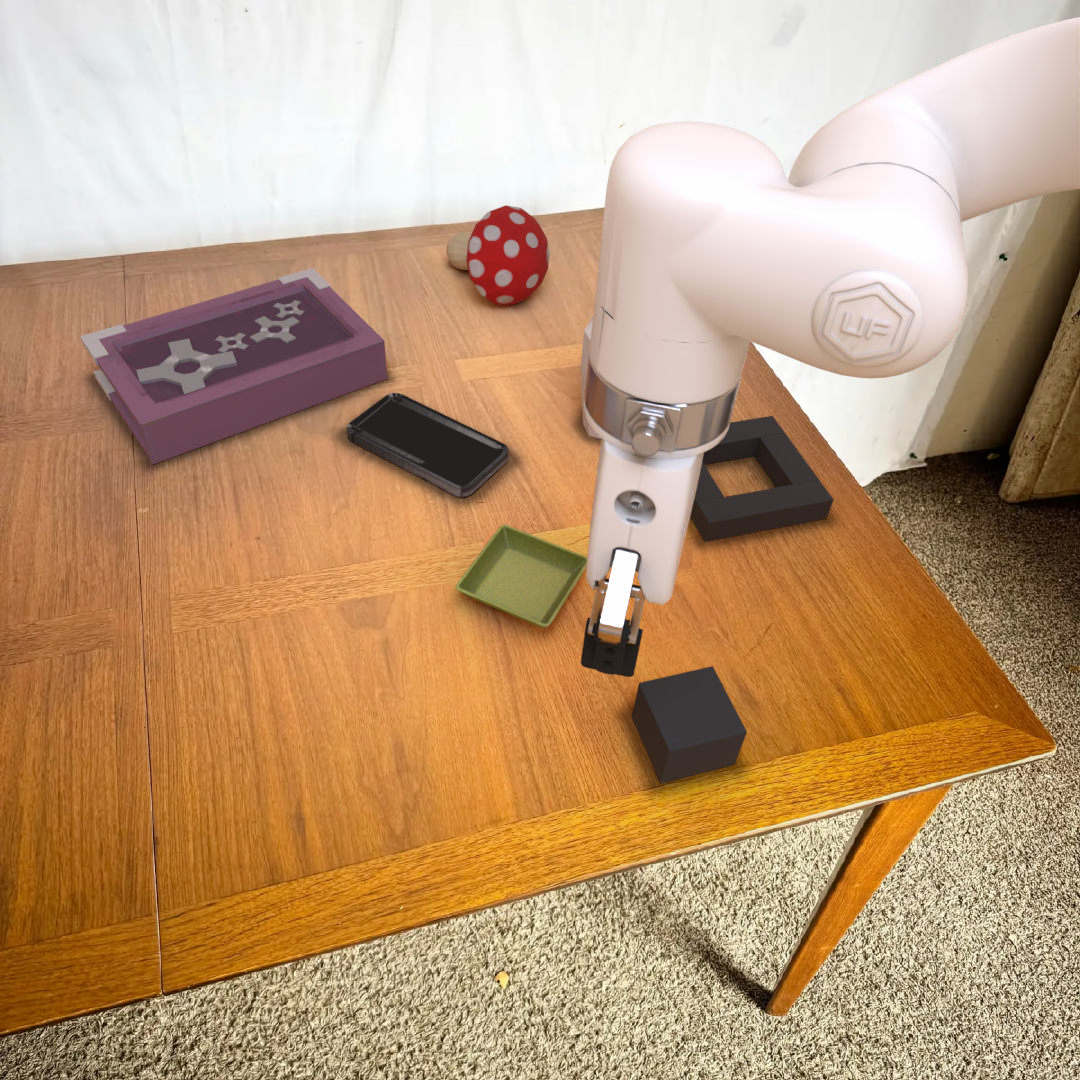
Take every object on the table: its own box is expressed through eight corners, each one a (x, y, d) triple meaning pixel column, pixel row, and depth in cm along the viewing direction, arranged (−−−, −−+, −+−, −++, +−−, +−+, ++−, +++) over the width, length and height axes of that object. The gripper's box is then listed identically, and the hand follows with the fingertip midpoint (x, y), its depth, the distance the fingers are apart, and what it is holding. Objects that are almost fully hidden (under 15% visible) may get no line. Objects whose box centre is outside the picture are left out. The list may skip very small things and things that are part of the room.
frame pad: (826, 518, 90) (834, 499, 88) (704, 542, 87) (709, 522, 85) (767, 434, 98) (772, 415, 97) (653, 453, 95) (656, 434, 94)
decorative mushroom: (429, 188, 113) (507, 192, 103) (499, 219, 121) (579, 225, 110) (406, 282, 115) (480, 295, 104) (477, 306, 122) (553, 321, 112)
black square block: (735, 765, 71) (747, 731, 68) (660, 784, 70) (669, 751, 67) (702, 699, 75) (713, 665, 72) (631, 716, 74) (638, 682, 71)
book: (317, 306, 110) (312, 267, 107) (388, 379, 102) (385, 339, 98) (94, 377, 99) (80, 336, 96) (152, 465, 90) (138, 423, 87)
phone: (393, 389, 98) (513, 447, 93) (393, 398, 99) (512, 456, 94) (340, 429, 94) (464, 492, 88) (342, 438, 94) (464, 501, 89)
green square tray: (590, 574, 84) (592, 557, 82) (546, 643, 78) (547, 627, 77) (501, 539, 86) (502, 522, 85) (453, 604, 81) (453, 587, 79)
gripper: (716, 520, 42) (660, 736, 54) (750, 310, 54) (697, 526, 66) (548, 486, 43) (530, 705, 55) (617, 287, 54) (590, 504, 67)
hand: (621, 607), depth 60 cm, fingers open, 9 cm apart
